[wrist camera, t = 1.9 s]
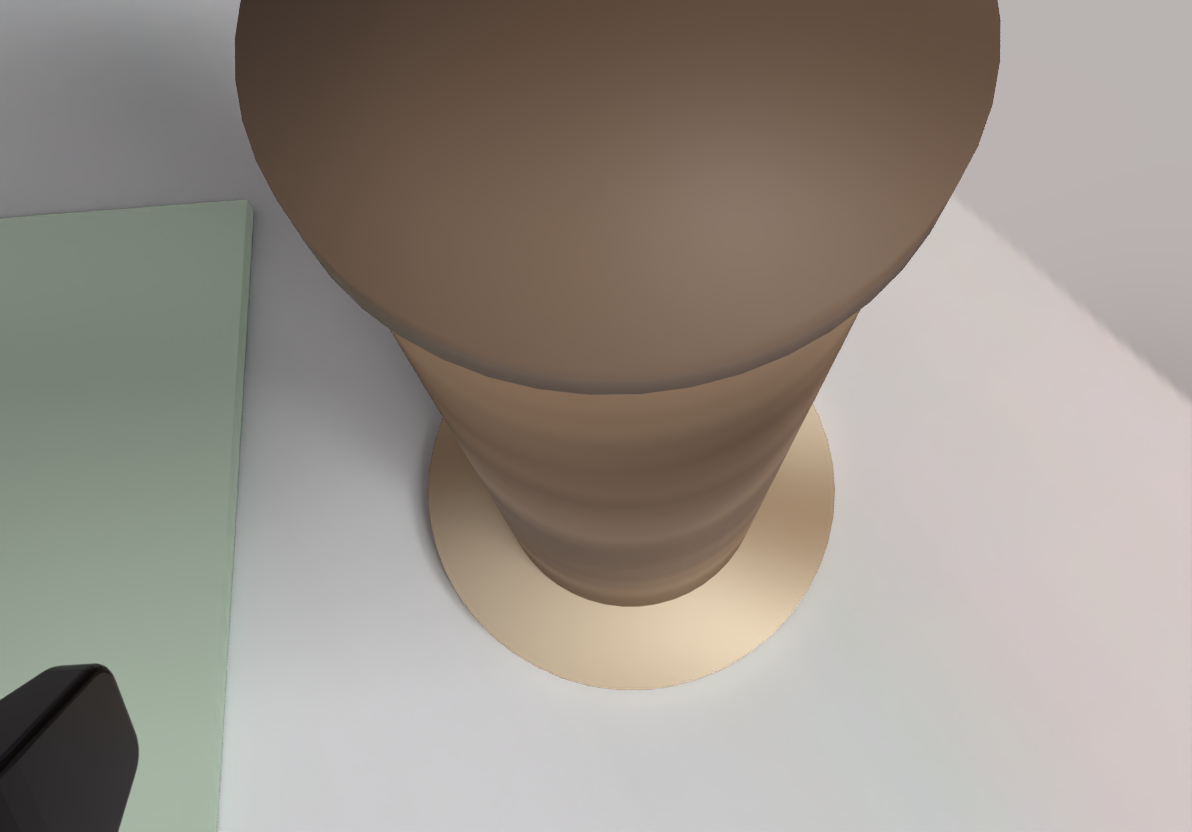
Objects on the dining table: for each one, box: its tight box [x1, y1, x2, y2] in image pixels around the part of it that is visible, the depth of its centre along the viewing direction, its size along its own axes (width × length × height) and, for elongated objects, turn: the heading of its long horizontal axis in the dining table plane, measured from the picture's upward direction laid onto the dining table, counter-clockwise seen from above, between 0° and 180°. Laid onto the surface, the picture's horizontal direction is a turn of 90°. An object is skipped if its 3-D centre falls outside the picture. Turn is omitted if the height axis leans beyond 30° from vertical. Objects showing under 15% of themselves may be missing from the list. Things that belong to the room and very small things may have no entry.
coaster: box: [428, 404, 835, 690], centre depth 19 cm, size 8×8×1 cm
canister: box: [235, 0, 1000, 607], centre depth 13 cm, size 5×5×13 cm
